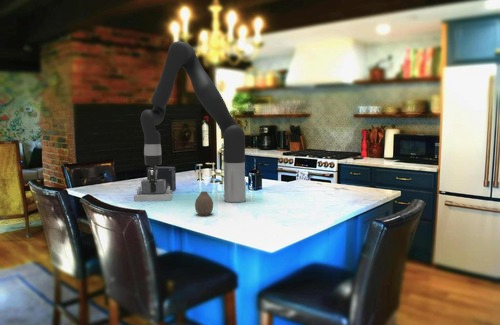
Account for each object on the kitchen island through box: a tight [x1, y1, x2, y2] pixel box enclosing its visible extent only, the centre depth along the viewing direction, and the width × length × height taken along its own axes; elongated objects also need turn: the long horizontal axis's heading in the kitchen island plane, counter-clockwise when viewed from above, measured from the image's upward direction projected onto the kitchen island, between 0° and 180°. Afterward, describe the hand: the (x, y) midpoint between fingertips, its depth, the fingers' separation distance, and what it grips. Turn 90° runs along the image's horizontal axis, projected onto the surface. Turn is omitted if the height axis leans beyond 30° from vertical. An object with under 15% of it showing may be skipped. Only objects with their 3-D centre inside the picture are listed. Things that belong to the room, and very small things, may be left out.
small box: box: [146, 166, 177, 192], centre depth 202 cm, size 13×7×12 cm, turn 84°
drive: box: [140, 178, 166, 195], centre depth 182 cm, size 10×6×6 cm, turn 94°
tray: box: [133, 186, 173, 202], centre depth 183 cm, size 16×11×5 cm
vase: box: [194, 191, 214, 217], centre depth 152 cm, size 7×7×9 cm
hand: (153, 190), depth 183 cm, fingers closed on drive, 5 cm apart
